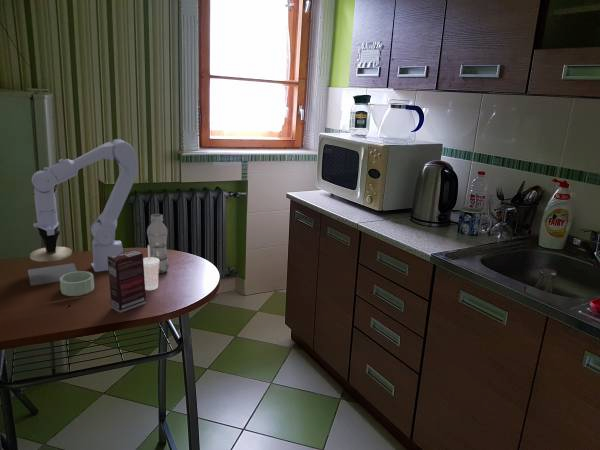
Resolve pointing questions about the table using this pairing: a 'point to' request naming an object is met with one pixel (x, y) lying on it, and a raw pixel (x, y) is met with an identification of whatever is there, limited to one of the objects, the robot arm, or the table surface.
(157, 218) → the plastic bottle
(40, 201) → the robot arm
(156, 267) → the beverage cup
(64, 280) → the bowl
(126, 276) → the supplement box
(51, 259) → the board
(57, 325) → the table surface
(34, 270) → the mat
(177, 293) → the table surface
